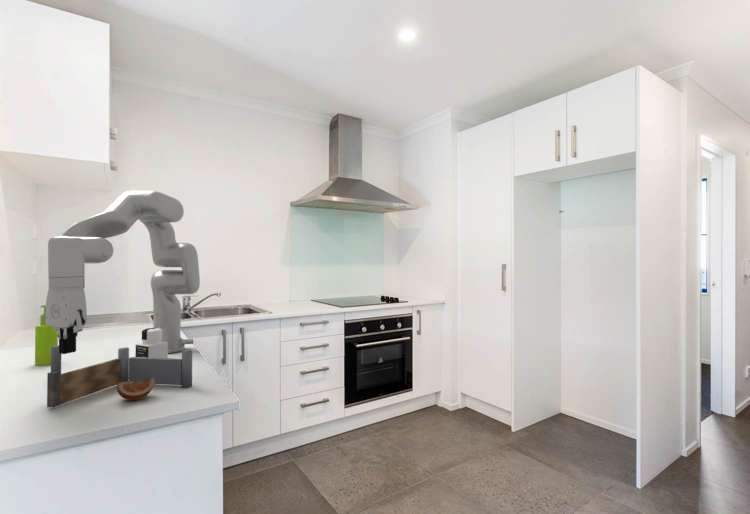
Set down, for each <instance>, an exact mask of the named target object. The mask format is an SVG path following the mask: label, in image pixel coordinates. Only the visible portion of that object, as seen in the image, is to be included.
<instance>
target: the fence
mask: <svg viewBox="0 0 750 514" xmlns="http://www.w3.org/2000/svg"><path fill="white" fill-rule="evenodd" d="M117 351H118V352H117V359H120V382H128V381H137V382H139V381H141V380H143V379H148V378H155V380H156V381H155V385H164V386H166V385H167V386H181V388H182V389H189V388H192V387H193V349H184V350H182V351H181V358H171V357H169V358H147V357H136V356H132V357H130V347H120V348H118V349H117ZM54 371H57V372H60V374H62V354H60V353H59V344H58V345H57V346H51V364H50V372H54Z"/></svg>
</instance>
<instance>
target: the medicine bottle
mask: <svg viewBox="0 0 750 514" xmlns="http://www.w3.org/2000/svg"><path fill="white" fill-rule="evenodd" d="M161 340H162V329H160V328H153V327H149V328H145V329H143V330H142V331H141V342H137V343H135V357H147V358H168V357H169V353H168V342H164V341H161Z"/></svg>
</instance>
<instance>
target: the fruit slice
mask: <svg viewBox="0 0 750 514" xmlns="http://www.w3.org/2000/svg"><path fill="white" fill-rule="evenodd" d="M155 381H156V380H155V378H148V379H143V380H141V381H139V382H137V381H128V382H120V383H118V384H117V385H116V390H117V393H118V395H119V396H120V397H121V399H123V400H127V401H136V400H137V401H138V400H141V399H143V398H145V397H147V396H148V395H149V394H150V393H151V391H152V390H153V389H154V387H155V385H156V384H155Z"/></svg>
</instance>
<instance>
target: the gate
mask: <svg viewBox="0 0 750 514" xmlns="http://www.w3.org/2000/svg"><path fill="white" fill-rule="evenodd" d="M46 374H47V380H46V381H47V382H46V383H47V384H46V391H47V392H46V408H50V409H54V408H57V407H59V406H61V405H64V404H67V403H69V402H72V401H75V400H77V399H78V400H79V399H81V398H83V397H87V396H89V395H93V394H95V393H98V392H101V391H103V390H107V389H109V388H112V387H114V386H117V384H118V383H120V359H118V358H114V359H110V360H106V361H103V362H100V363H96V364H93V365H89V366H85V367H82V368H78V369H74V370H70V371H66V372H64V373H61V374H60V372H57V371H54V372H51V371H50V372H47V373H46Z"/></svg>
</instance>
